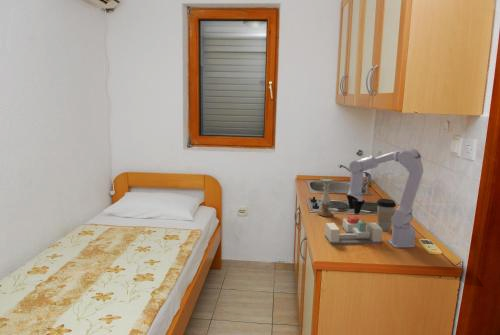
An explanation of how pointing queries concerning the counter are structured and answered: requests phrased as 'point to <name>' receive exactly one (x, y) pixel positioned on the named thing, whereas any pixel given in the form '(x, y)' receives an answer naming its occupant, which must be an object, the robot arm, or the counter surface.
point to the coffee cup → (385, 213)
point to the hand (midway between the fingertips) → (354, 211)
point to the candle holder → (325, 198)
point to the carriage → (361, 230)
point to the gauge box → (348, 226)
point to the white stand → (353, 235)
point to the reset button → (353, 219)
